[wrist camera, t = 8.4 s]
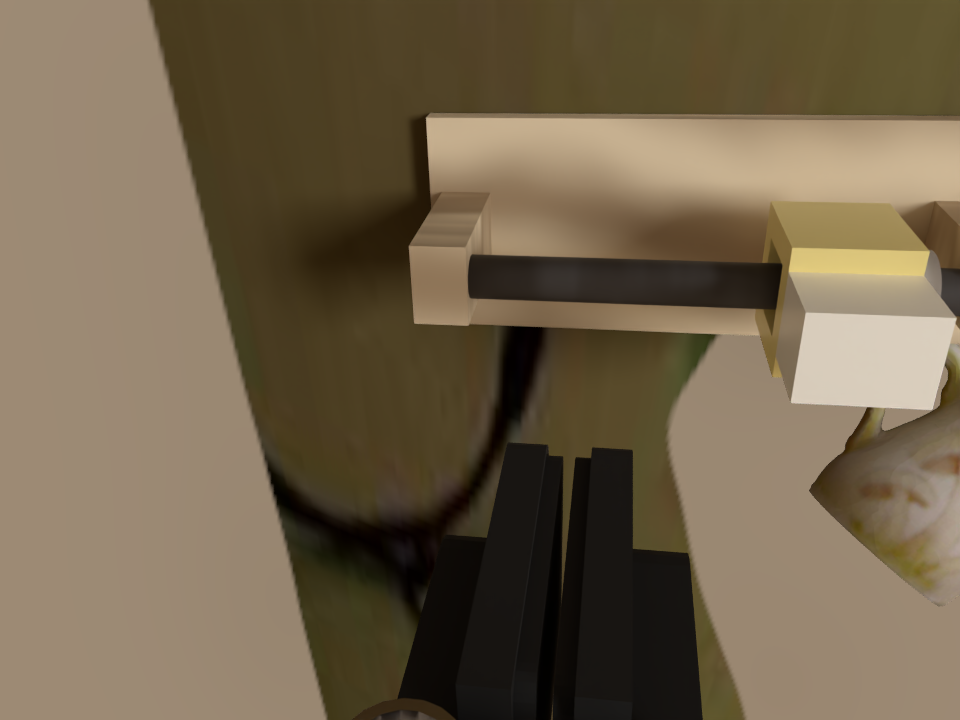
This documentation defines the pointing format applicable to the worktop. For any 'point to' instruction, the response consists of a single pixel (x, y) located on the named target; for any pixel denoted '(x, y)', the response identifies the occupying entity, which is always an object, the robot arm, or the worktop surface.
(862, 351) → the sleeve
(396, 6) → the worktop surface
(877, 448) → the mug
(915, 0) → the worktop surface
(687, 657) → the robot arm
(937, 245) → the roller holder rack
